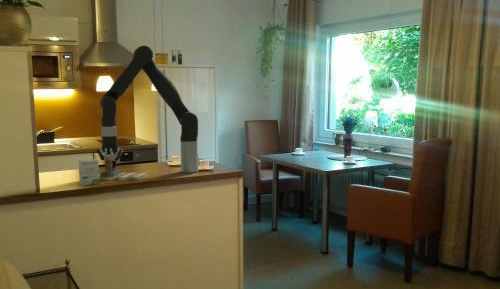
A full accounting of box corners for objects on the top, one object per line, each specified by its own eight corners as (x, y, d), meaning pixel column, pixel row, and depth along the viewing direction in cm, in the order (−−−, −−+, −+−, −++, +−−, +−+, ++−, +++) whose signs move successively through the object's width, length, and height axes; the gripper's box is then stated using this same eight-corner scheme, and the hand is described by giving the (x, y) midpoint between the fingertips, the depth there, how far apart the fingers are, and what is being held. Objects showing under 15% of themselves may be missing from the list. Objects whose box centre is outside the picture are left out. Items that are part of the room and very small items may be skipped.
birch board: (147, 175, 239) (147, 172, 239) (139, 180, 227) (139, 177, 226) (107, 175, 241) (107, 172, 241) (97, 180, 228) (97, 177, 228)
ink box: (97, 182, 223) (96, 158, 221) (99, 183, 219) (98, 160, 217) (79, 183, 219) (78, 160, 217) (81, 185, 214) (79, 161, 213)
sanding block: (121, 173, 239) (120, 158, 238) (113, 176, 228) (113, 161, 227) (108, 173, 240) (107, 158, 239) (100, 176, 229) (99, 161, 228)
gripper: (125, 134, 235) (126, 167, 237) (98, 134, 236) (100, 166, 238) (120, 135, 227) (121, 169, 229) (93, 135, 228) (94, 169, 230)
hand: (110, 168), depth 234 cm, fingers closed on sanding block, 3 cm apart
